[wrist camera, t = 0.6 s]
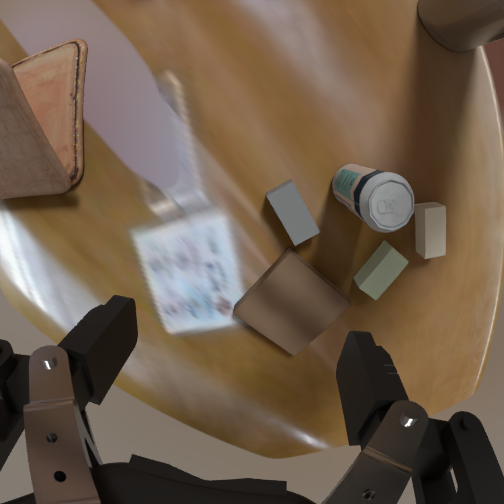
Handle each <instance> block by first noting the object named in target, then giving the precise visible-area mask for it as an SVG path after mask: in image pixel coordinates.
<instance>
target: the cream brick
mask: <svg viewBox="0 0 504 504" xmlns="http://www.w3.org/2000/svg"><path fill="white" fill-rule="evenodd" d="M414 206H415V244H416V250H415V251H416V252H417V253H418V254H419V255H421V256H422V257H423V258H424V259H428V258H433V257H438V256H443V255H445V251H446V206H444V205H442V204H439V203H437V202H427V203H420V204H414Z"/></svg>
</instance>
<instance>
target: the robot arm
mask: <svg viewBox="0 0 504 504" xmlns="http://www.w3.org/2000/svg"><path fill="white" fill-rule="evenodd" d="M418 13H419V16H420V19H421V21H422V23H423V25H424V27H425V28H426V30H427V31H428V33H429V34H430V35H431V36H432V37H433V38H434V39H435V40H436V41H437V42H438V43H439V44H441V45H442V46H444V47H445V48H447V49H450V50H452V51H455V52H465V51H468V50H471V49H473V48H476V47H479V46H482V45H485V44H487V43H490V42H493V41H496V40H499V39H502V38H504V0H419V2H418ZM137 338H138V329H137V318H136V305H135V301H134V299H133V298H128V297H123V296H119V295H114V296H113V297H112V298H111V299H110V300H109V301H108V302H107V303H106V304H105V305H99V306H97V307H95V308H94V309H92V310H90V311H89V312H88V313H87V314H86V315H85V316H84V317H83V319H81V320H80V322H79V323H78V324H77V326H75V327H74V328H73V329H72V330H71V331H70V332H69V333H68V334H67V336H66V337H65V338H64V339H63V340H62V341H61V342H60V343H59V344H58V345H57V346H52V345H50V346H44V347H41V348H39V349H37V350H36V351H34V352H33V354H32V355H31V356H28V355H20V354H14V352H13V349H12V347H11V344H10V343H9V342H8V341H6V340H1V339H0V471H1V469H2V467H3V465H4V464H5V462H6V460H7V458H8V456H9V455H10V453H11V451H12V449H13V447H14V446H15V444H16V442H17V440H18V439H19V437H20V435H21V434H22V432H23V430H24V429H25V438H26V447H27V455H28V462H29V469H30V474H31V480H32V485H33V490H34V492H33V493H31V494H28V495H25V496H22V497H20V498H17V499H14V500H11V501H8V502H5V503H1V504H316V503H314V502H313V501H311V500H309V499H308V498H306V497H304V496H301V495H299V494H296V493H294V492H290V491H287V490H286V484H287V482H286V481H276V480H262V479H252V478H244V479H231V480H212V481H209V480H203V479H200V478H198V477H196V476H193V475H191V474H189V473H186V472H184V471H182V470H180V469H178V468H176V467H173V466H171V465H169V464H166V463H162V462H159V461H155V460H151V459H148V458H144V457H141V456H137V455H134V454H132V457H131V459H130V461H129V463H126V462H119V463H118V462H117V463H108V464H103V463H102V460H101V458H100V456H99V453H98V450H97V447H96V444H95V441H94V437H93V433H92V430H91V426H90V423H89V419H88V415H87V411H86V408H85V407H86V405H87V403H88V402H92V403H95V404H98V405H100V404H101V402H102V401H103V399H104V397H105V395H106V394H107V392H108V390H109V389H110V387H111V385H112V384H113V382H114V380H115V379H116V377H117V375H118V374H119V372H120V370H121V369H122V367H123V365H124V364H125V362H126V361H127V359H128V357H129V356H130V354H131V352H132V351H133V349H134V348H135V345H136V343H137ZM336 378H337V383H338V388H339V393H340V398H341V403H342V409H343V414H344V419H345V425H346V430H347V436H348V441H349V446H353V445H360V446H361V452H360V454H359V455H358V457H357V458H356V459H355V461H354V462H353V464H352V465H351V466H350V468H349V469H348V471H347V472H346V473H345V475H344V476H343V477H342V479H341V480H340V481H339V483H338V484H337V485H336V486H335V488H334V489H333V490H332V491H331V493H330V494H329V495H328V496H327V497H326V498H325V500H324V501H323V502H322V503H321V504H397V502H398V500H399V499H400V497H401V495H402V493H403V491H404V489H405V487H406V485H407V483H408V481H409V479H410V477H412V482H413V488H414V493H415V498H416V504H504V476H503V473H502V471H501V468H500V465H499V463H498V460H497V458H496V455H495V453H494V451H493V448H492V446H491V443H490V441H489V439H488V436H487V434H486V432H485V430H484V427H483V425H482V423H481V421H480V420H479V419H478V418H477V417H476V416H475V415H473V414H471V413H469V412H464V411H460V412H457V413H455V414H454V415H453V416H452V417H451V419H450V420H449V421H442V420H437V419H431V418H429V417H428V414H427V412H426V411H425V409H424V408H423V407H422V406H420V405H419V404H417V403H415V402H413V401H409V399H408V396H407V394H406V391H405V389H404V387H403V384H402V382H401V379H400V377H399V375H398V374H397V370H396V368H395V366H394V363H393V361H392V359H391V357H390V355H389V354H388V353H387V352H386V351H385V350H384V349H383V348H382V347H381V346H376V344H375V342H374V340H373V337H372V335H371V333H370V332H361V331H350V332H349V333H348V335H347V338H346V341H345V344H344V347H343V350H342V352H341V355H340V358H339V361H338V364H337V369H336ZM452 468H453V470H454V474H455V477H456V481H457V485H458V490H457V493H456V490H455V486H454V482H453V479H452V475H451V472H450V470H451V469H452Z"/></svg>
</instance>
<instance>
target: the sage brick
mask: <svg viewBox="0 0 504 504" xmlns="http://www.w3.org/2000/svg"><path fill="white" fill-rule="evenodd" d="M408 263H409V262H408V261H407V260H406V259H405V258H404V257H403V256H402V255H401V254H400V253H399V252H397V251H396V250H395V249H394V248H393V247H392V246H391V245H390V244H389V243H387V242H386V241H385V240H384V241H383V242H382V243H381V245H380V246H379V247H378V248H377V249H376V251H375V252H374V253H373V254H372V256H371V257H370V258H369V259H368V260H367V262H366V263H365V264H364V265H363V266H362V268H361V269H360V270H359V271H358V272H357V274H356V275H355V276H354V277H353V279H354V280H355V282H356V284H357V285H358V287H359V288H360V289H361V290H362V291H364V292H365V293H366V294H368V295H369V296H370V297H372V298H373V299H374V300H377V299H378V298H379V297H380V296H381V295H382V294H383V292H384V291H385V290H386V289H387V288H388V287H389V285H390V284H391V283H392V282H393V281H394V280H395V278H396V277H397V276H398V275H399V274H400V273H401V271H402V270H403V269H404V268H405V266H406V265H407V264H408Z"/></svg>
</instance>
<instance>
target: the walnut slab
mask: <svg viewBox="0 0 504 504" xmlns="http://www.w3.org/2000/svg"><path fill="white" fill-rule="evenodd" d="M351 305H352V304H351V302H350V300H349V298H348V296H346V295H345V294H344V293H343V292H342V291H341V290H339V289H338V288H337V287H336V286H335V285H334V284H332V283H331V282H330V281H329V280H328V279H327V278H325V277H324V276H323V275H322V274H321V273H320V272H318V271H317V270H316V269H315V268H314V267H313V266H311V265H310V264H309V263H308V262H307V261H305V260H304V259H303V258H302V257H301V256H300V255H298V254H297V253H296V252H295V251H294V250H292V249H291V248H290V247H289V248H288V249H287V250H286V251H285V252H284V253H283V254H282V255H281V256H280V257H279V258H278V259H277V261H276V262H275V263H274V264H273V265H272V266H271V267H270V268H269V269H268V270H267V271H266V272H265V273H264V274H263V276H262V277H261V278H260V279H259V280H258V281H257V282H256V283H255V284H254V285H253V286H252V287H251V288H250V289H249V290H248V291H247V293H246V294H245V295H244V296H243V297H242V298H241V299H240V300H239V301H238V302H237V303H236V304H235V306H234V311H233V314H235V315H236V316H238V317H239V318H240V319H242V320H243V321H245V322H246V323H247V324H249V325H250V326H252V327H253V328H254V329H256V330H257V331H259V332H260V333H261V334H263V335H264V336H266V337H267V338H269V339H270V340H271V341H273V342H274V343H276V344H277V345H279V346H280V347H282V348H283V349H284V350H286V351H287V352H289V353H290V354H292V355H293V356H295V355H296V354H298V353H299V352H300V351H301V350H302V349H303V348H304V347H306V346H307V345H308V344H309V343H310V342H311V341H313V340H314V339H315V338H316V337H317V336H318V335H319V334H320V333H321V332H323V331H324V330H325V329H326V328H327V327H328V326H329V325H330V324H331V323H332V322H334V321H335V320H336V319H337V318H338V317H339V316H340V315H341V314H342V313H343V312H344V311H345V310H346V309H347V308H348V307H349V306H351Z"/></svg>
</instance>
